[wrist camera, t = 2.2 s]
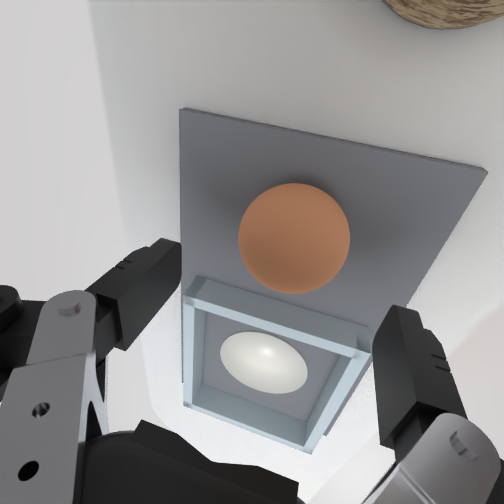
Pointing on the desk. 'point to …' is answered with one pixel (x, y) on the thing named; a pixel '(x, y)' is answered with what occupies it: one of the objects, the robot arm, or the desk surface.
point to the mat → (354, 208)
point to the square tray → (268, 360)
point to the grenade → (448, 12)
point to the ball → (294, 238)
